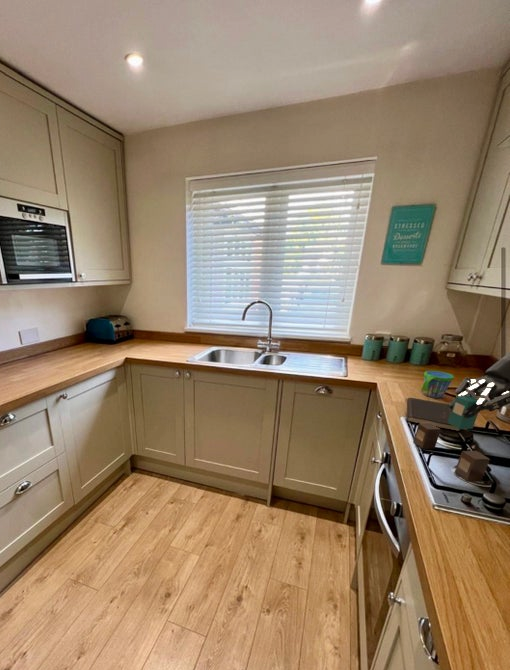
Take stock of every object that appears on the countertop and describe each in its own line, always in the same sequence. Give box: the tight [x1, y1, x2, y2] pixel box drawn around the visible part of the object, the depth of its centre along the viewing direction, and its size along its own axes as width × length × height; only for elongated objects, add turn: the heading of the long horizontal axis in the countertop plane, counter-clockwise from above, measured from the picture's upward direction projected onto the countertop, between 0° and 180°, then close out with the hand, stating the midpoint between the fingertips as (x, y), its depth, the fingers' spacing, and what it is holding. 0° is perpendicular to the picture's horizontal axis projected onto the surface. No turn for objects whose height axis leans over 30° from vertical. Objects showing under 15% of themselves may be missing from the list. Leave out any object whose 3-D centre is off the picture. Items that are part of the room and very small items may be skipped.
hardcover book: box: [406, 397, 461, 431], centre depth 125 cm, size 16×23×2 cm
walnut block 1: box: [412, 423, 442, 450], centre depth 100 cm, size 4×4×8 cm
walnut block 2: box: [454, 450, 491, 483], centre depth 85 cm, size 4×4×8 cm
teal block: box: [447, 395, 479, 430], centre depth 89 cm, size 4×4×8 cm
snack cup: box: [421, 370, 455, 399], centre depth 145 cm, size 16×10×10 cm
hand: (457, 412), depth 89 cm, fingers closed on teal block, 4 cm apart
